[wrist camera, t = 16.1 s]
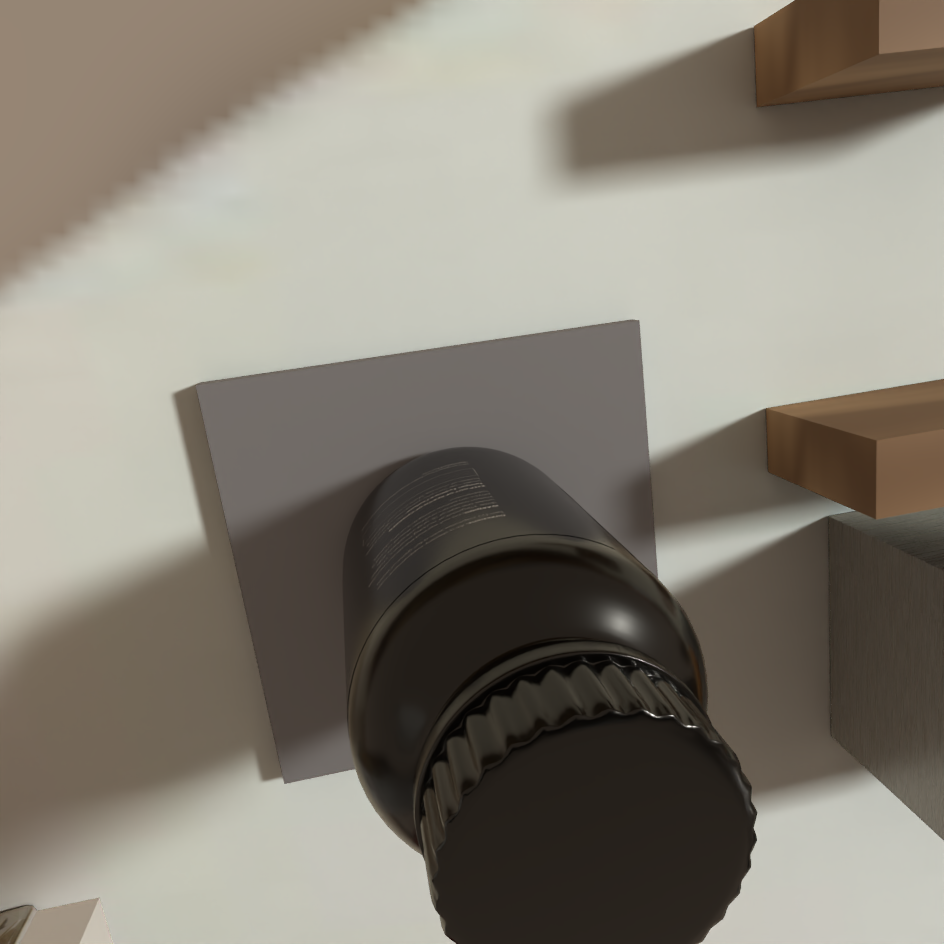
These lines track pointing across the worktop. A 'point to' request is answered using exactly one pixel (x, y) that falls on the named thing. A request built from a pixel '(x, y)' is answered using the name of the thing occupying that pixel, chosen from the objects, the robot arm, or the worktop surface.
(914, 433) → the block
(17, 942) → the coffee box
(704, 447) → the worktop surface
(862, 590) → the plunger housing
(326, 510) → the mat
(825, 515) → the worktop surface
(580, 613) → the supplement bottle
